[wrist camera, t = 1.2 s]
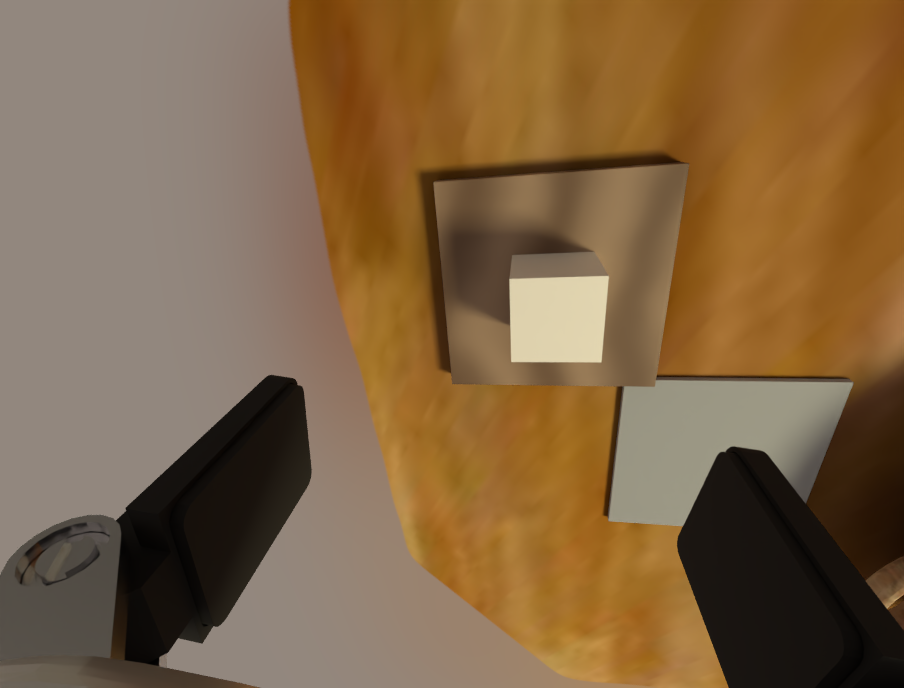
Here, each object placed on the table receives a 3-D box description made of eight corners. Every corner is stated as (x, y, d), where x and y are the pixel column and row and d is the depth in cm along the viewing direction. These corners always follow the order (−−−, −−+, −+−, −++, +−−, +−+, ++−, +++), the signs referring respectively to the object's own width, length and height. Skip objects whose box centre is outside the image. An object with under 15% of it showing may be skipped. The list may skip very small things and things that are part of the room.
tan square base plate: (681, 162, 27) (711, 167, 22) (649, 376, 34) (668, 413, 29) (437, 180, 30) (422, 187, 25) (454, 375, 37) (445, 407, 32)
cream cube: (594, 251, 29) (608, 275, 24) (589, 326, 31) (601, 362, 26) (512, 254, 30) (509, 278, 25) (513, 327, 32) (511, 361, 27)
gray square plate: (848, 378, 31) (853, 382, 31) (790, 529, 38) (793, 533, 38) (623, 376, 34) (624, 379, 34) (607, 516, 41) (608, 521, 41)
